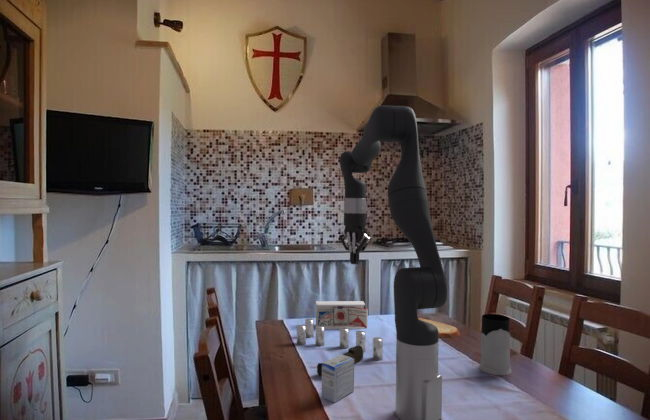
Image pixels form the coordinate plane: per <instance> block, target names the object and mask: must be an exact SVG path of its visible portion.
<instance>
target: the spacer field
mask: <svg viewBox="0 0 650 420" xmlns="http://www.w3.org/2000/svg"><path fill="white" fill-rule="evenodd" d="M304 321H305V322H304V324H298V325H296V344H297V346H304V345H306V340H307V339H308V338H309V339H311V338H314V333H315V342H314V343H315V346H317V347H323V346H325V329H324V326H316V325H315V332H314V323H315V322H314V321H315V319H314V318H305V319H304ZM349 333H350V329H348V328H340V329H339V348H340V349H350V348H349V346H350V345H349V343H350V340H349V338H350V337H349V336H350V335H349ZM306 338H307V339H306ZM383 341H384V338H382V337H373V338H372V359H373V360H374V361H382V360H383V358H384V357H383V356H384V355H383V353H384V352H383V351H384V349H383V348H384V346H383V343H384V342H383ZM355 346H361V347H362V349H363V353H366V331H364V330H357V331H355Z"/></svg>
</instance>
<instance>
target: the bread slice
mask: <svg viewBox="0 0 650 420" xmlns="http://www.w3.org/2000/svg"><path fill="white" fill-rule="evenodd" d="M418 319H419V320H421V321H425V322H428V323H430V324H433V325H434V326H436V327H437V329H438V333H439V338H443V339H444V338H449V339H450V338H457V337H460V336H461V334H460V331H459V329H458V328H457V327H455V326H453V325H450V324H446V323H443V322H439V321H435V320H430V319H425V318H423V317H422V318H421V317H420V316H418Z"/></svg>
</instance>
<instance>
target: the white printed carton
mask: <svg viewBox="0 0 650 420" xmlns="http://www.w3.org/2000/svg"><path fill="white" fill-rule="evenodd" d="M365 306H366V303H365V302H364V300H357V301H356V300H352V301H351V300H349V301H348V300H343V301H342V300H335V301H334V300H331V301H330V300H329V301H328V300H320V301H319V300H318V301H317V300H316V301H315V327H316V326H324V330H340V328H348V329H349V330H354V329H355V330H363V329H364V330H366V328H367V327H369V325H368V324H369V323H368V321H369V319H368V318H369V317H368V316H369V315H368V314H369V313H368V312H369V311H368V310H369V309H368V308H364V307H365Z"/></svg>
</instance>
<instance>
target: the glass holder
mask: <svg viewBox="0 0 650 420" xmlns="http://www.w3.org/2000/svg"><path fill="white" fill-rule="evenodd" d="M510 320H511V318H510V317H508V316H506V315H501V314H496V313H495V314H494V313H486V314H482V315H481V332H480V362H479V365H478V368H479V370H481V371H482V372H483V373H487V374H490V375H494V376H507V375H510V374H512V369H511V332H510V331H511V330H510V329H511V328H510V325H511V324H510V323H511V321H510Z"/></svg>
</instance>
